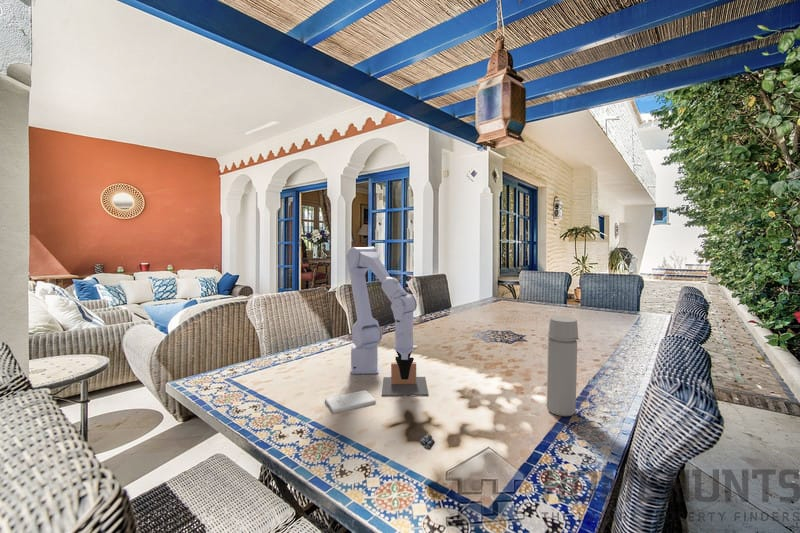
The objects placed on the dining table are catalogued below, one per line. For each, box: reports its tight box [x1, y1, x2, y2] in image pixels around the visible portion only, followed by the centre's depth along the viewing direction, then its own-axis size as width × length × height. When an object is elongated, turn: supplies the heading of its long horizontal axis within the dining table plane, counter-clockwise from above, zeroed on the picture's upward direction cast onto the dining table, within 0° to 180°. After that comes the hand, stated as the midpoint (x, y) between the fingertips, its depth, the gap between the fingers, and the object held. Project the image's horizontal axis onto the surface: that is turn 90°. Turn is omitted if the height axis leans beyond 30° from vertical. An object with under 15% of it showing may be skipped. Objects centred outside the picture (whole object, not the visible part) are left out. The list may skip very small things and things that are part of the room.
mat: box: [381, 376, 429, 397], centre depth 114 cm, size 14×14×1 cm
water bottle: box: [546, 316, 580, 417], centre depth 96 cm, size 9×8×25 cm
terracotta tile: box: [390, 361, 417, 384], centre depth 116 cm, size 8×2×6 cm, turn 90°
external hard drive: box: [324, 389, 377, 414], centre depth 103 cm, size 2×8×12 cm
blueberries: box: [419, 434, 436, 450], centre depth 82 cm, size 7×8×2 cm
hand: (404, 374), depth 116 cm, fingers open, 7 cm apart
